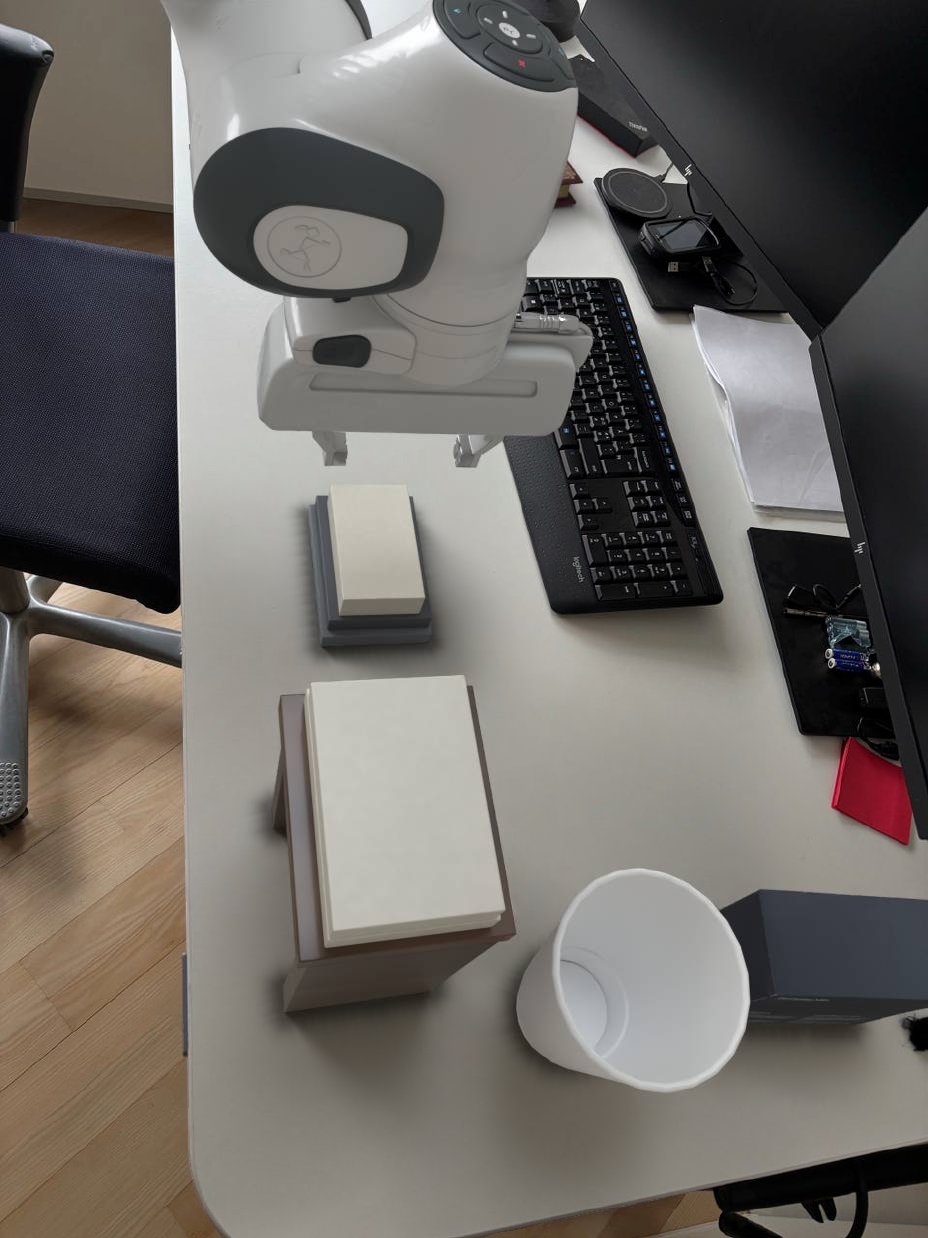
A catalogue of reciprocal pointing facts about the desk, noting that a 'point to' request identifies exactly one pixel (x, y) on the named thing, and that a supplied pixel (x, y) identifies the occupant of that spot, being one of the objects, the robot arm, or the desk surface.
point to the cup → (638, 984)
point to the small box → (831, 956)
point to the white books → (399, 810)
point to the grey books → (358, 626)
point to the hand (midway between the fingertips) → (399, 459)
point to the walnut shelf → (315, 967)
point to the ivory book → (374, 550)
